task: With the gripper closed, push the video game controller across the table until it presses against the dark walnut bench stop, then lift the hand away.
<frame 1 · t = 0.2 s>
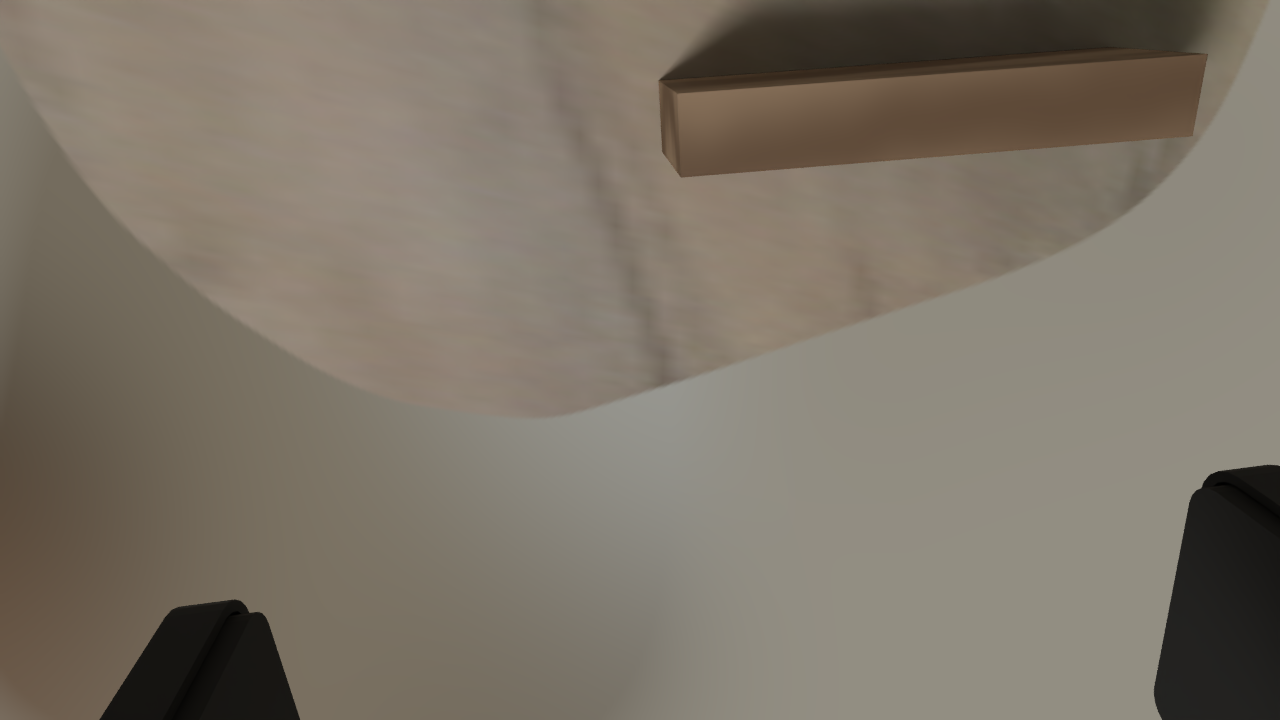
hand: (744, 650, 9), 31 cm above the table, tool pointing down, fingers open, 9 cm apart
bench stop: (886, 99, 37), on the table
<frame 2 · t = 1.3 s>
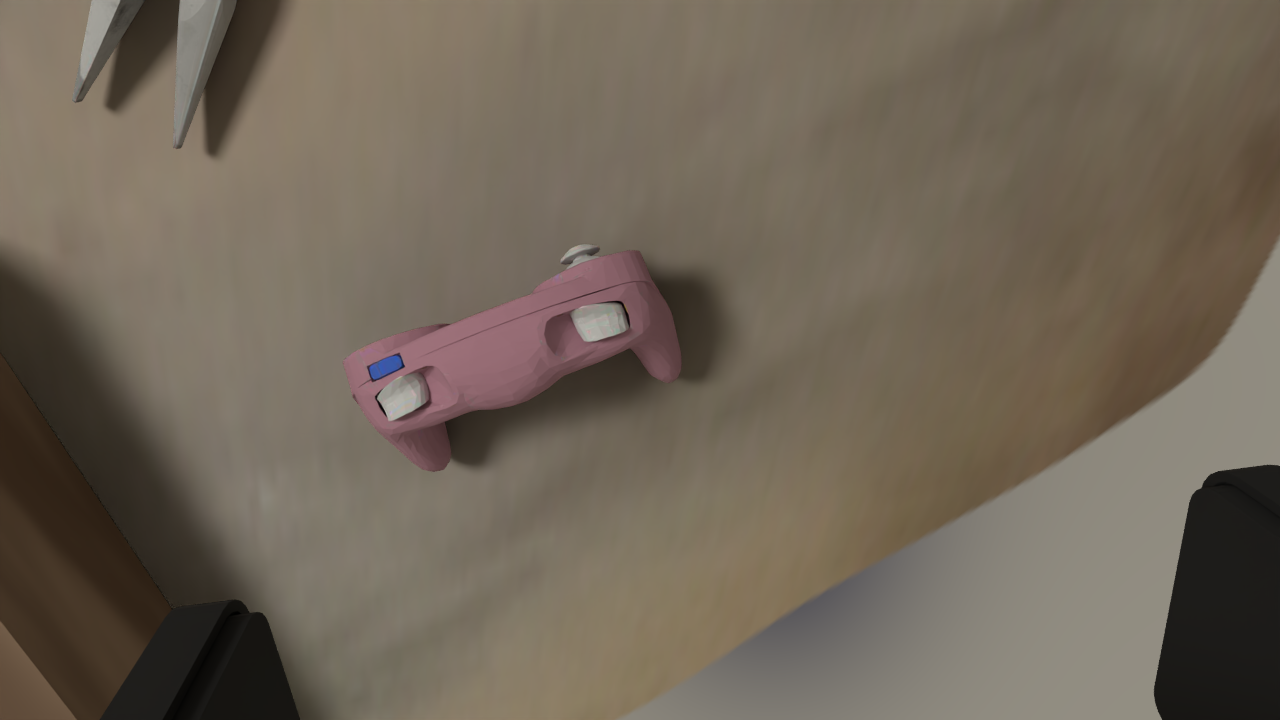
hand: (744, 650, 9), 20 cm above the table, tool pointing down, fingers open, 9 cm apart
bench stop: (41, 490, 29), on the table
video game controller: (522, 335, 29), on the table
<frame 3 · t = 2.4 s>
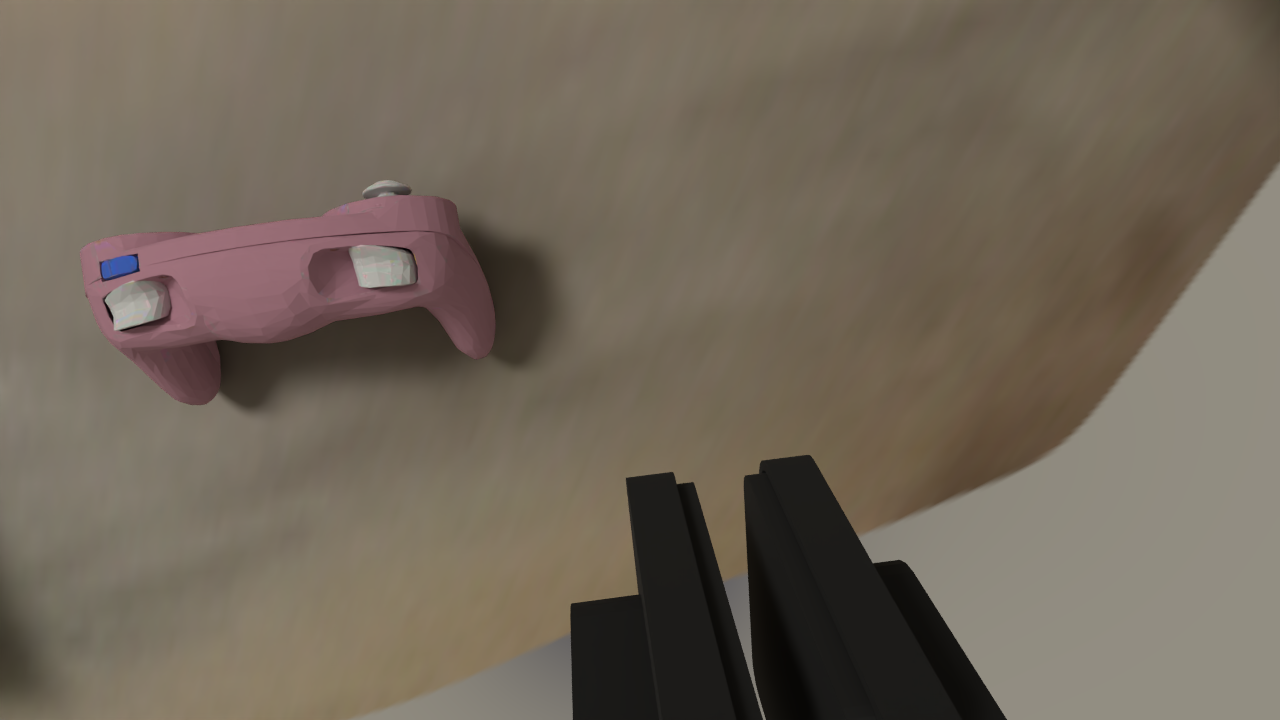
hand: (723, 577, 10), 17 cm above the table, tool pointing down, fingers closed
video game controller: (327, 274, 26), on the table
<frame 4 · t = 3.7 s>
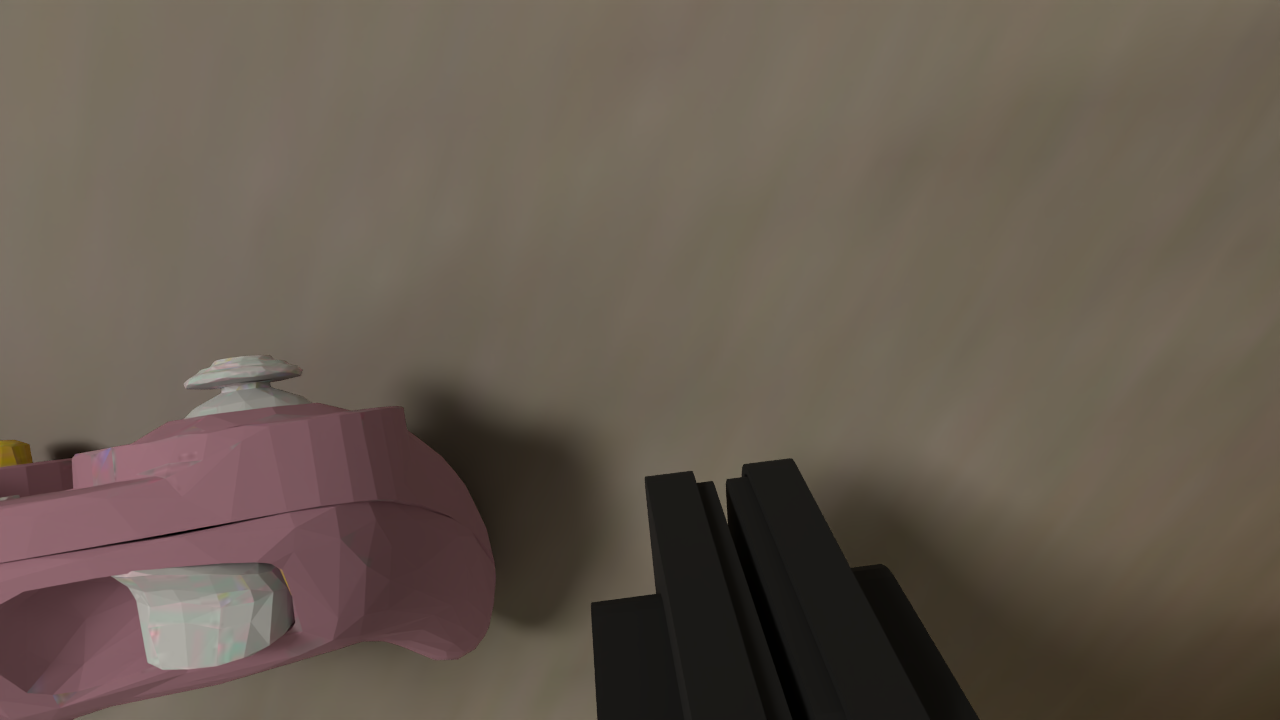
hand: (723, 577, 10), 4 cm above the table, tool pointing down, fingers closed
video game controller: (177, 476, 13), on the table
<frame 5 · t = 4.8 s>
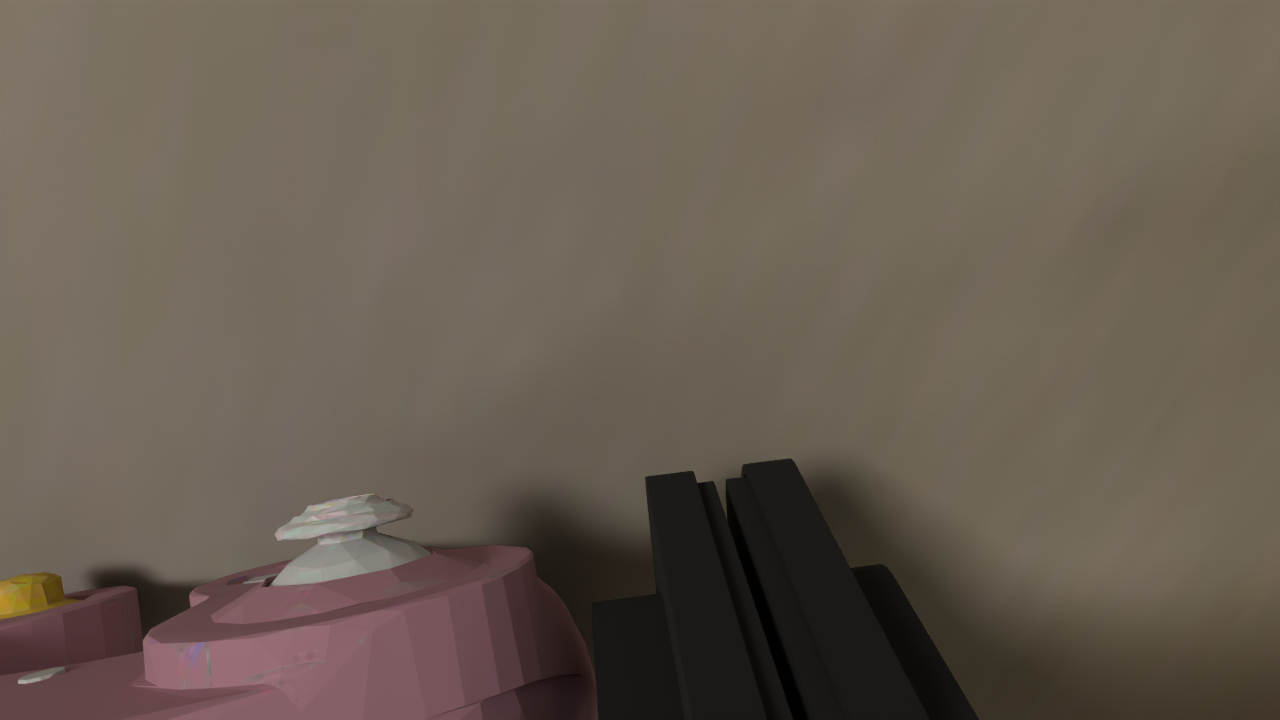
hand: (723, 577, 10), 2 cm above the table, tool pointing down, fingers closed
video game controller: (227, 600, 12), on the table, touching gripper
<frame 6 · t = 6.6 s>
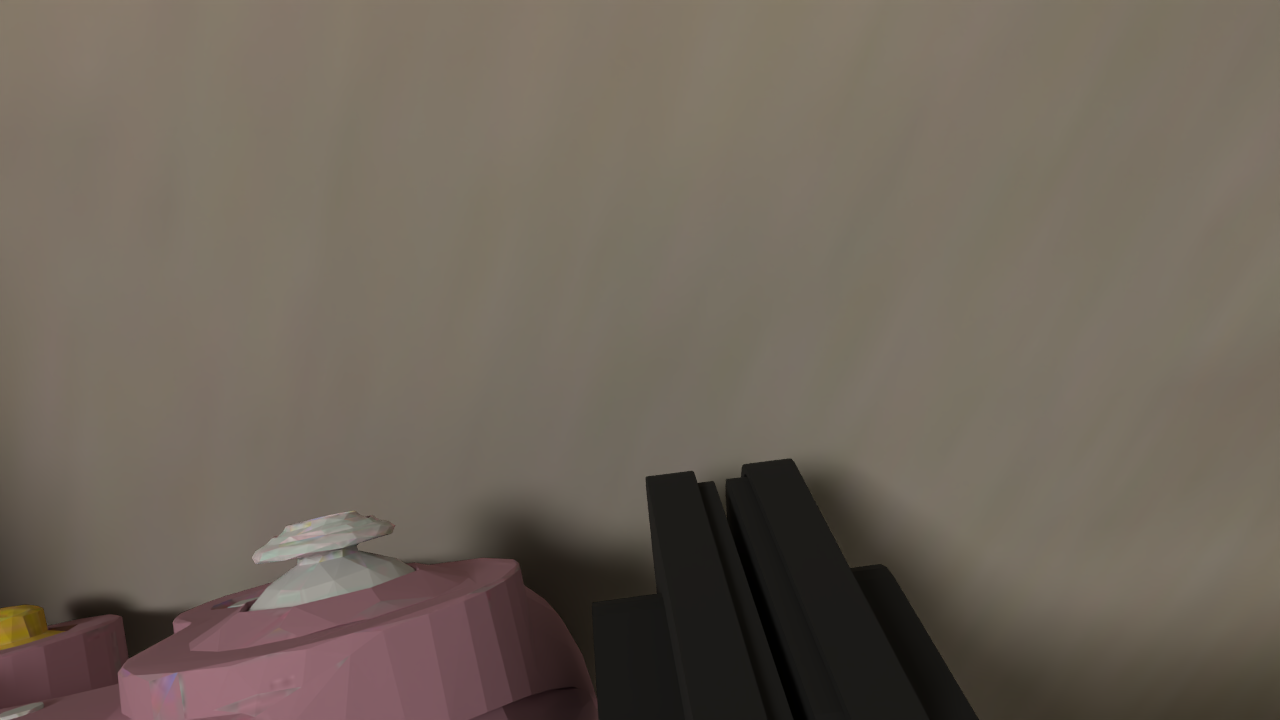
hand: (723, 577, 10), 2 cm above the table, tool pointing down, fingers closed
video game controller: (216, 624, 11), on the table, touching bench stop, gripper
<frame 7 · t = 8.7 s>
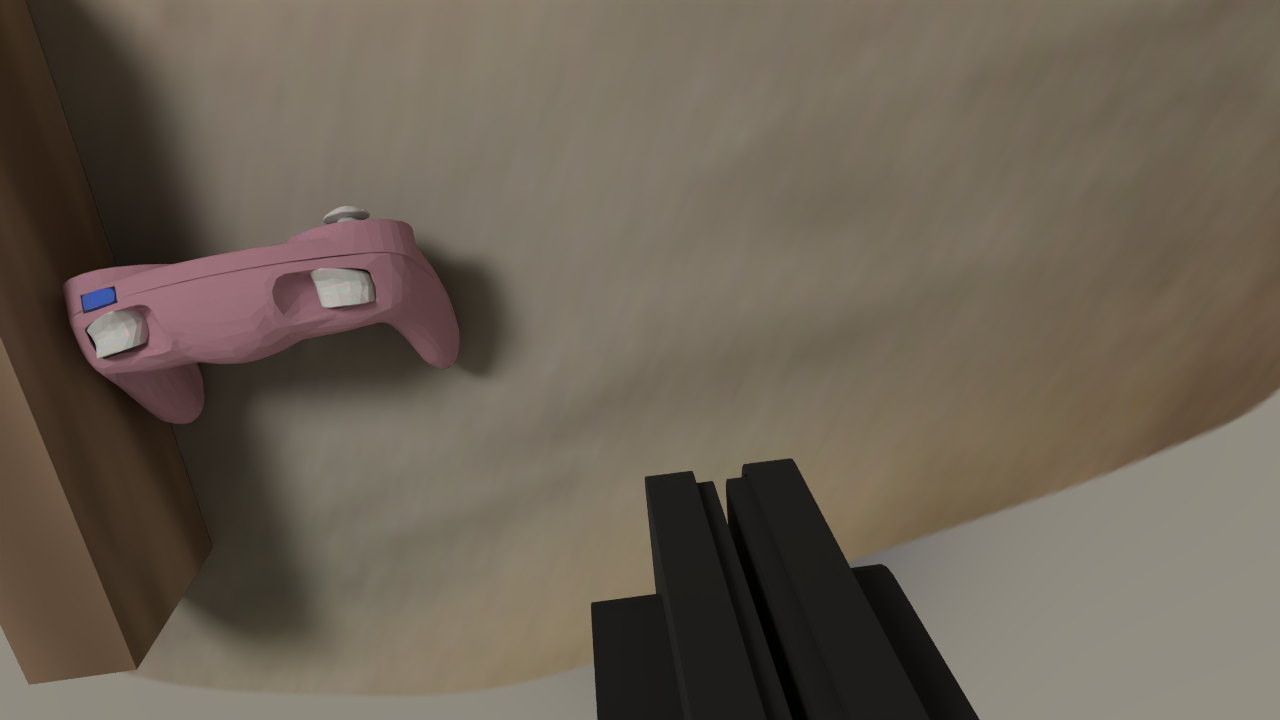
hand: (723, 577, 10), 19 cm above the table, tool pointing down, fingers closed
bench stop: (69, 282, 26), on the table
video game controller: (299, 295, 27), on the table
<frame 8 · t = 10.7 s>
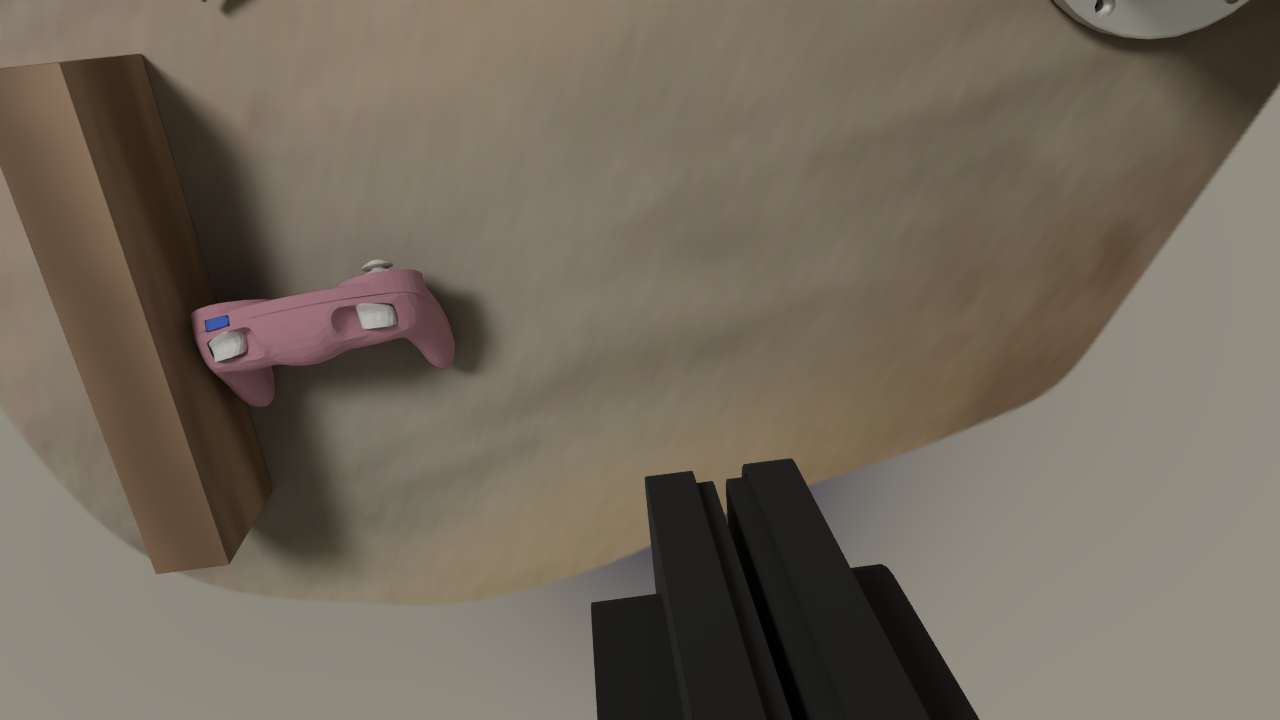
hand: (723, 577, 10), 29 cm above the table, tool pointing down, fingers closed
bench stop: (179, 298, 37), on the table
video game controller: (342, 316, 38), on the table
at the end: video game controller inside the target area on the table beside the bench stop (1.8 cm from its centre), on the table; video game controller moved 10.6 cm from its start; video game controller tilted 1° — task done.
